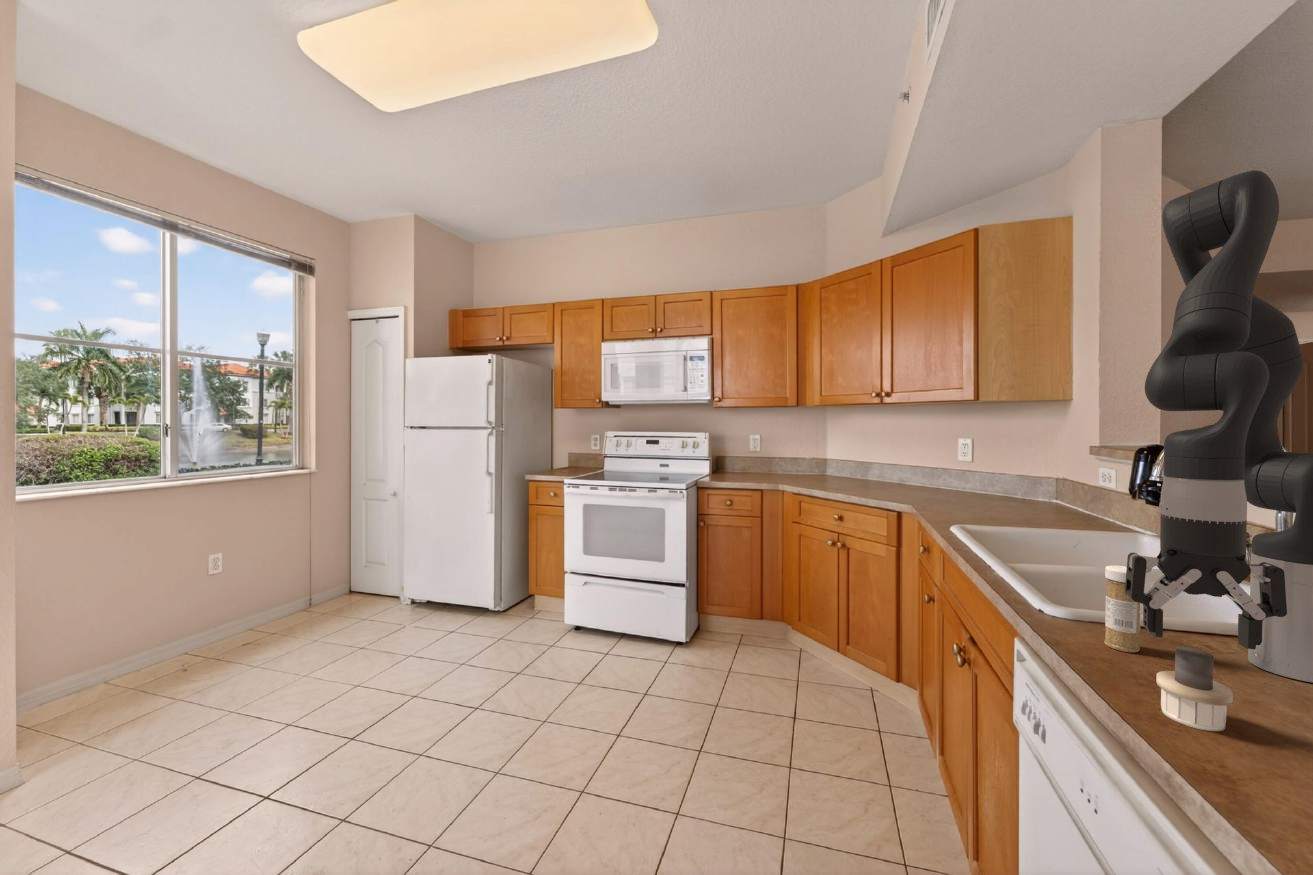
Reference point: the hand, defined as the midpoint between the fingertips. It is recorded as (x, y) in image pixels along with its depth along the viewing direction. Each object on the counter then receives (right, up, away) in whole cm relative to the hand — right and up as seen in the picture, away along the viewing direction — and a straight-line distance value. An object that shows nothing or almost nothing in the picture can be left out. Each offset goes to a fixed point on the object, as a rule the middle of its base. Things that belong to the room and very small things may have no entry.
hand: (1200, 640), depth 66 cm
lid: (0, -7, +1) cm, 7 cm away
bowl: (0, -10, +1) cm, 10 cm away
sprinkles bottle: (+9, -10, +22) cm, 25 cm away
